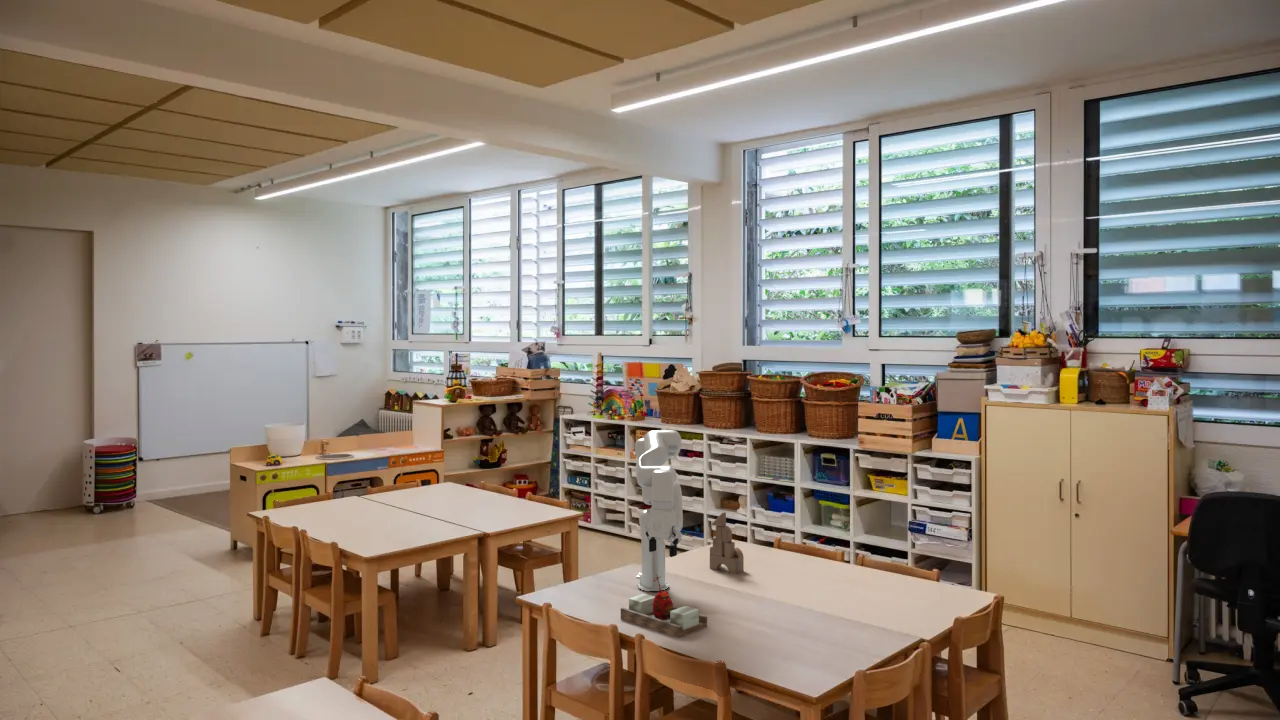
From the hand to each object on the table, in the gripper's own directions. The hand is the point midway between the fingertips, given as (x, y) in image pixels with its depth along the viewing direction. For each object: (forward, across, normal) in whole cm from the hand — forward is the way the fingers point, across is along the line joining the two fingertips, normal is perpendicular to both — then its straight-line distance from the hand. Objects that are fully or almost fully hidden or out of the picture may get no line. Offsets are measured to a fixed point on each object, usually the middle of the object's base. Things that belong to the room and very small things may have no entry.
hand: (662, 553), depth 284 cm
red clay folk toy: (+23, 0, 0) cm, 23 cm away
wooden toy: (+25, -25, +67) cm, 75 cm away
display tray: (+24, 0, 0) cm, 24 cm away
